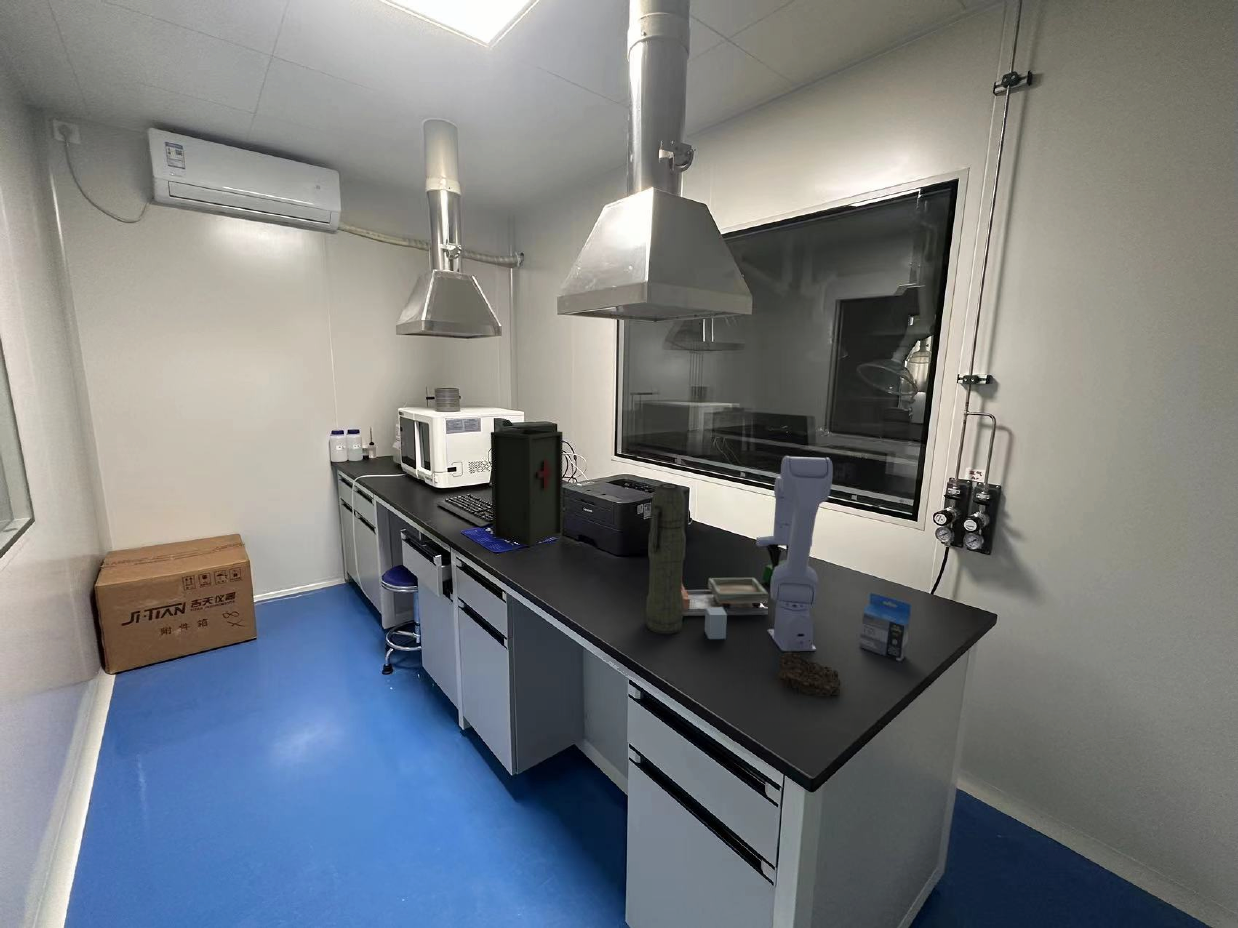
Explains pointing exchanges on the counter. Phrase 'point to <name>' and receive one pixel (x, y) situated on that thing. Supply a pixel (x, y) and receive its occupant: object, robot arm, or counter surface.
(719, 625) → the block
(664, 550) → the thermos
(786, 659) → the brown porous oval lump
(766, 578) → the clamp
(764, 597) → the shallow open tray
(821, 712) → the counter surface
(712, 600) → the rail
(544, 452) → the first aid box
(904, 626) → the label tape box
